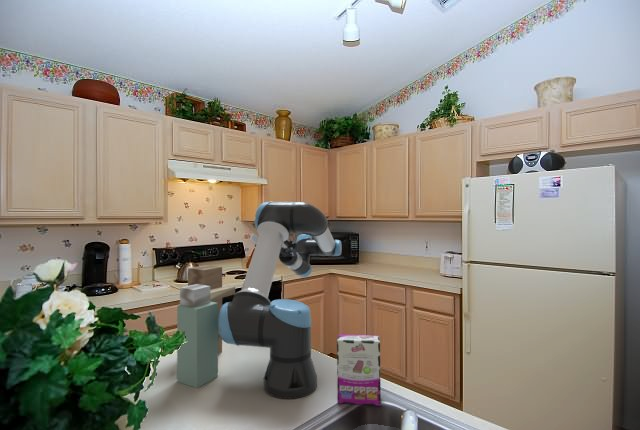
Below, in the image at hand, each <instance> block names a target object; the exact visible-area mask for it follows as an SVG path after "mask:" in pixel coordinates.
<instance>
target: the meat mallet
mask: <svg viewBox="0 0 640 430" xmlns="http://www.w3.org/2000/svg"><path fill="white" fill-rule="evenodd" d="M235 293H236V286H234V285H226V286H222V287H221V288H217V289H213V290H210V286H206V285H200V284H195V285H190V286H188V285H187V286H183V287H182V286H181V287H179V305H184V306H189V307H198V306H201V305H204V304H208V303H210V301H213V300H216V299H220V298H222V299H223V298H226V297H229V296H234V295H235Z"/></svg>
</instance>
